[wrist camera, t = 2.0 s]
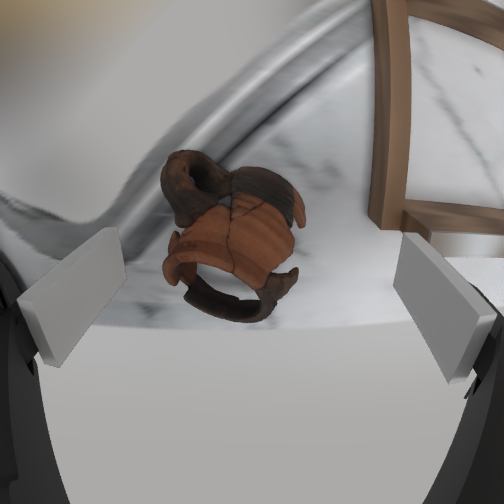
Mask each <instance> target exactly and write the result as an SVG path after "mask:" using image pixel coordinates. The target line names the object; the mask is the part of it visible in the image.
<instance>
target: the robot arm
mask: <svg viewBox="0 0 504 504" xmlns="http://www.w3.org/2000/svg"><path fill="white" fill-rule="evenodd" d="M126 280H127V276H126V271H125V266H124V261H123V255H122V250H121V244H120V238H119V232H118V227H104V228H103V229H101V230H100V231H99V232H97V233H96V234H95V235H93V236H92V237H91V238H89V239H88V240H87V241H86V242H84V243H83V244H82V245H80V246H79V247H78V248H77V249H75V250H74V251H73V252H71V253H70V254H69V255H68V256H66V257H65V258H64V259H63V260H62V261H60V262H59V263H58V264H57V265H55V266H54V267H53V268H52V269H51V270H49V271H48V272H47V273H46V274H45V275H44V276H42V277H41V278H40V279H39V280H38V281H37V282H35V283H34V284H33V285H32V286H31V287H30V288H29V289H27V290H26V291H25V292H24V293H23V294H21V292H20V290H19V288H18V286H17V284H16V283H15V281H14V279H13V278H12V276H11V274H10V273H9V271H8V270H7V268H6V267H5V266H4V264H3V263H2V262H1V261H0V504H70V502H69V500H68V497H67V494H66V491H65V489H64V485H63V482H62V479H61V476H60V473H59V470H58V466H57V463H56V459H55V456H54V452H53V448H52V445H51V440H50V437H49V432H48V428H47V423H46V418H45V413H44V407H43V402H42V396H41V389H40V383H39V375H38V367H37V363H36V361H35V359H34V356H35V355H36V354H37V352H38V351H39V353H40V356H41V358H42V360H43V362H44V364H47V365H50V366H54V367H58V368H60V367H61V365H62V364H63V362H64V361H65V360H66V358H67V357H68V355H69V354H70V352H71V351H72V350H73V348H74V347H75V346H76V344H77V343H78V341H79V340H80V339H81V337H82V336H83V335H84V333H85V332H86V331H87V329H88V328H89V327H90V325H91V324H92V323H93V321H94V320H95V319H96V318H97V316H98V315H99V314H100V312H101V311H102V310H103V308H104V307H105V306H106V305H107V303H108V302H109V301H110V300H111V298H112V297H113V296H114V295H115V293H116V292H117V291H118V290H119V288H120V287H121V286H122V285H123V283H124V282H125V281H126ZM393 287H394V288H395V290H396V292H397V293H398V295H399V296H400V298H401V300H402V301H403V303H404V305H405V306H406V308H407V310H408V311H409V313H410V315H411V316H412V318H413V320H414V322H415V323H416V325H417V327H418V328H419V330H420V332H421V334H422V336H423V337H424V339H425V341H426V343H427V345H428V346H429V348H430V350H431V352H432V354H433V356H434V358H435V359H436V361H437V363H438V365H439V367H440V369H441V371H442V373H443V375H444V377H445V379H446V381H447V383H448V384H453V383H458V382H463V381H465V380H466V379H467V377H468V375H469V374H470V371H471V370H472V368H473V369H474V370H475V372H476V374H477V376H476V378H475V380H474V382H473V383H472V385H471V387H470V388H469V390H468V392H467V393H466V395H465V397H464V399H467V397H468V396H469V397H468V400H467V404H466V407H465V409H464V412H463V415H462V418H461V421H460V423H459V426H458V429H457V432H456V434H455V437H454V439H453V442H452V444H451V446H450V449H449V451H448V454H447V456H446V458H445V460H444V463H443V465H442V467H441V469H440V471H439V473H438V475H437V477H436V479H435V481H434V483H433V485H432V487H431V489H430V491H429V493H428V495H427V497H426V499H425V500H424V502H423V504H504V317H503V316H502V314H501V313H500V312H499V311H498V310H497V309H496V308H495V306H494V305H493V304H492V303H491V302H489V300H488V299H487V298H486V297H485V296H484V294H483V293H482V292H481V291H480V290H479V289H478V288H477V287H475V286H474V285H472V284H471V283H469V282H468V281H467V280H466V279H465V278H464V277H463V276H462V275H461V274H460V273H459V272H458V271H457V270H456V269H455V268H454V267H453V266H452V265H451V264H450V263H449V262H448V261H447V260H446V259H445V258H444V257H443V256H442V255H441V254H440V253H438V252H437V251H436V250H435V249H434V248H433V247H432V246H431V245H430V244H429V243H428V242H427V241H426V240H425V239H424V238H422V237H421V236H420V235H419V234H418V233H407V232H403V237H402V243H401V248H400V254H399V259H398V264H397V269H396V274H395V278H394V283H393Z"/></svg>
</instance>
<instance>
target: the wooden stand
mask: <svg viewBox="0 0 504 504" xmlns="http://www.w3.org/2000/svg"><path fill="white" fill-rule="evenodd" d="M371 5H372V17H373V31H374V52H375V126H374V148H373V164H372V177H371V189H370V199H369V209H368V217H369V218H370V219H371V220H372V221H373V222H374V223H375V224H376V225H377V227H378V228H379V229H380V230H400V231H401V232H402V233H403V232H407V233H418V234H419V235H420V236H421V237H422V238H424V239H425V240H426V241H427V242H428V243H429V244H430V245H431V246H432V247H433V248H434V249H435V250H436V251H437V252H438V253H440V254H441V255H442V256H443V257H490V258H504V210H502V209H494V208H486V207H478V206H470V205H460V204H451V203H441V202H430V201H419V200H406V199H405V191H406V182H407V172H408V160H409V147H410V130H411V53H410V36H409V24H408V15H412V16H415V17H419V18H422V19H425V20H429V21H432V22H435V23H438V24H441V25H444V26H447V27H450V28H452V29H455V30H458V31H461V32H463V33H466V34H468V35H471V36H473V37H475V38H478V39H480V40H482V41H485V42H487V43H489V44H491V45H494V46H496V47H498V48H500V49H502V50H504V0H371Z"/></svg>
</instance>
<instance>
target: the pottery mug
mask: <svg viewBox="0 0 504 504" xmlns="http://www.w3.org/2000/svg"><path fill="white" fill-rule="evenodd" d="M190 176H191V177H192V178H193V180H194V182H195V185H194V183H193V182H192V180H191V178H190ZM160 182H161V188H162V191H163V194H164V196H165V198H166V199H167V200H168V202H169V203H170V205H171V207H172V209H173V210H174V213H175V224H176V225H177V226H178V227H180V228H185V230H184V231H183V232H182V235H181V236H180V233H179V232H177V231H174V232H173V234H172V236H171V238H170V242H169V245H168V254H169V255H168V257H167V258H166V259H165V260H164V262H163V274H164V277H165V279H166V281H167V282H168V283H169V284H170V285H172V286H176V285H177V284H178V282H179V280H181V281H182V282H183V283H184V284H185V285H187V286H188V290H187V292H186V294H185V295H184V296H183V297H184V300H185V301H186V302H187V303H189V304H191V305H192V306H194V307H195V308H197V309H199V310H201V311H203V312H205V313H207V314H209V315H212V316H215V317H218V318H221V319H226V320H229V321H233V322H242V323H254V322H259V321H262V320H263V319H266V318H267V317H268V316H269V315H270V314H271V312H272V311H273V310H274V308H275V306H276V305H277V301H278V300H279V299H281V298H282V297H283V296H284V295H286V294H287V293H288V291H289V289H290V288H291V287H292V286H293V285H294V284H295V283H296V282H297V279H298V273H299V269H298V268H297V267H295V268H293V269H291V270H290V271H289V273H279V274H277V273H272V272H271V271H272V270H274V269H275V268H277V267H278V266H279V265H280V264H281V263H283V262H284V261H285V260H286V259H287V258H288V257H289V256H291V254H292V253H293V248H294V237H293V235H292V233H291V231H290V228H291V227H292V226H293V216H294V218H295V220H296V222H297V225H298V227H299V228H304V227H305V225H306V217H305V206H304V203H303V201H302V198H301V197H300V195H299V193H298V192H297V191H296V190H295V188H294V187H293V186H292V185H291V184H290V183H289V182H288V181H287V180H285V179H284V178H283V177H281V176H280V175H278V174H276V173H274V172H272V171H270V170H267V169H264V168H259V167H241V168H239V169H238V170H235V171H233V172H231V173H229V172H228V171H227V170H224V169H222V168H221V167H219V166H218V165H217V164H216V163H214V162H213V161H212V160H211V158H209V157H208V156H207V155H205V154H204V153H202V152H199V151H195V150H180V151H176V152H174V153H172V154H171V155H170V156H169V157H168V160H167V163H166V165H165V166H164V167H163V169H162V172H161V178H160ZM229 195H230V196H231V207H227V206H225V205H223V204H218V201H219V200H221V199H223V198H225V197H227V196H229ZM197 263H201V264H206V265H210V266H213V267H217V268H219V269H221V270H224V271H226V272H229V273H232V274H233V275H234V276H236V277H237V278H239V279H241V280H242V281H243V282H245V283H246V284H247V285H248V286H250V287H251V288H252V289H253V290H255V292H256V294H257V296H258V297H259V299H260V300H239V298H238V297H235V296H232V295H228V294H225V293H222V292H219V291H217V290H215V289H214V288H212V287H211V286H210V285H209V284H207V283H206V282H205V281H204V280H203V279H202V278H201V277H200V276H199V275H198V274H197Z"/></svg>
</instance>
